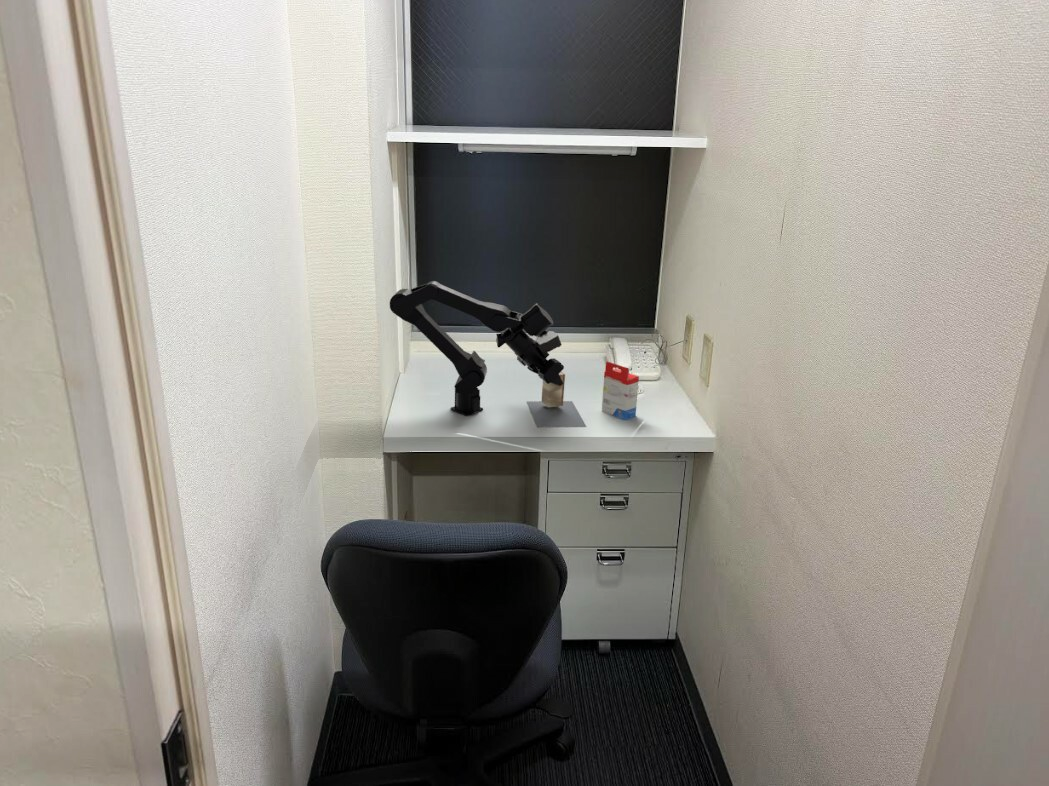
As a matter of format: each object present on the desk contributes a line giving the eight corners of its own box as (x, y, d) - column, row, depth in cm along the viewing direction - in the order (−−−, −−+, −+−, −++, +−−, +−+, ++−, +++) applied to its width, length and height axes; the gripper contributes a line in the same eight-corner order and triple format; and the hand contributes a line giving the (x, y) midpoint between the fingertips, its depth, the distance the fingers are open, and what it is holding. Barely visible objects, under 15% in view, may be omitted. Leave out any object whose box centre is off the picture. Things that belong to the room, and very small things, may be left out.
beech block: (548, 407, 213) (550, 375, 210) (541, 401, 217) (543, 370, 214) (562, 405, 214) (565, 374, 211) (555, 400, 218) (558, 369, 215)
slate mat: (586, 428, 204) (586, 426, 204) (536, 428, 202) (537, 427, 202) (571, 402, 222) (571, 401, 221) (526, 402, 220) (526, 401, 219)
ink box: (636, 417, 213) (641, 365, 208) (624, 421, 210) (629, 369, 205) (612, 408, 219) (616, 357, 214) (600, 412, 215) (604, 360, 210)
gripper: (559, 332, 198) (594, 370, 206) (529, 314, 214) (563, 350, 222) (529, 364, 198) (565, 401, 206) (501, 344, 214) (536, 379, 222)
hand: (558, 381), depth 214 cm, fingers closed on beech block, 4 cm apart
